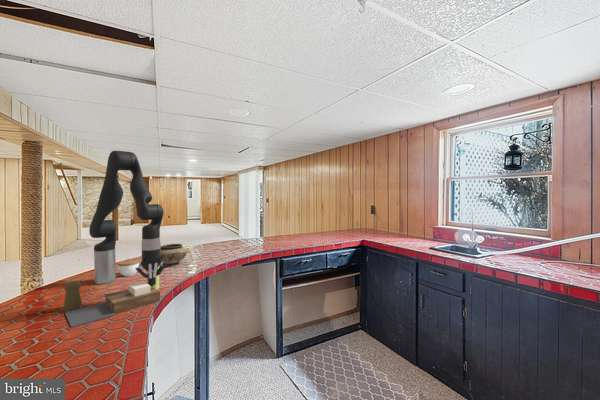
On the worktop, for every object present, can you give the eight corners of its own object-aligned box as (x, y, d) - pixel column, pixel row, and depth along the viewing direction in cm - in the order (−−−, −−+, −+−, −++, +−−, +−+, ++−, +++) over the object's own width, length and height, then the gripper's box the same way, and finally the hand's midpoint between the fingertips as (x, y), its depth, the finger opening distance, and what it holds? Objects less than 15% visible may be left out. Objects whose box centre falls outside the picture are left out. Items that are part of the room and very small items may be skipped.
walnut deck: (105, 304, 113) (105, 294, 113) (148, 292, 126) (148, 284, 125) (114, 314, 104) (113, 304, 103) (160, 300, 116) (159, 292, 116)
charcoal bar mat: (64, 313, 104) (64, 312, 104) (104, 303, 114) (104, 302, 114) (71, 327, 93) (71, 326, 93) (115, 315, 103) (115, 314, 103)
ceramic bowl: (194, 265, 182) (196, 244, 185) (182, 266, 165) (185, 242, 168) (159, 265, 182) (161, 244, 186) (144, 266, 165) (147, 242, 168)
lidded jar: (113, 275, 151) (113, 259, 151) (132, 271, 161) (132, 255, 161) (124, 278, 146) (124, 262, 146) (143, 273, 156) (143, 257, 156)
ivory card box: (128, 291, 117) (128, 284, 117) (143, 287, 122) (143, 281, 121) (134, 296, 111) (134, 289, 111) (150, 292, 115) (150, 285, 115)
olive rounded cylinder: (67, 306, 111) (66, 280, 111) (84, 303, 113) (84, 278, 113) (60, 312, 105) (59, 285, 105) (78, 309, 107) (78, 283, 107)
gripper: (163, 244, 127) (163, 280, 128) (132, 249, 117) (132, 287, 118) (169, 246, 122) (170, 283, 123) (137, 251, 112) (138, 291, 113)
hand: (151, 285), depth 120 cm, fingers closed
